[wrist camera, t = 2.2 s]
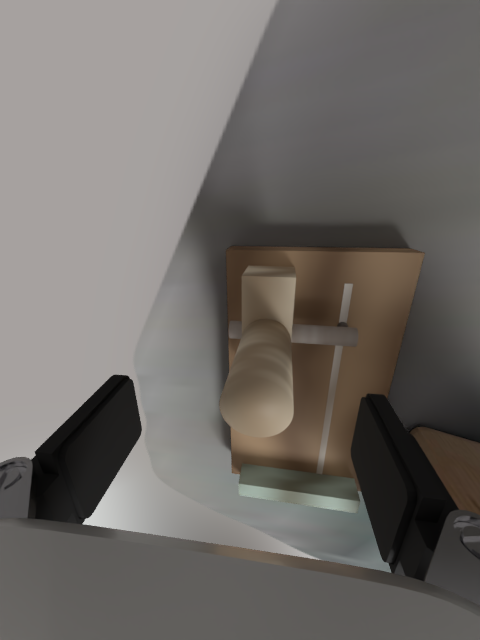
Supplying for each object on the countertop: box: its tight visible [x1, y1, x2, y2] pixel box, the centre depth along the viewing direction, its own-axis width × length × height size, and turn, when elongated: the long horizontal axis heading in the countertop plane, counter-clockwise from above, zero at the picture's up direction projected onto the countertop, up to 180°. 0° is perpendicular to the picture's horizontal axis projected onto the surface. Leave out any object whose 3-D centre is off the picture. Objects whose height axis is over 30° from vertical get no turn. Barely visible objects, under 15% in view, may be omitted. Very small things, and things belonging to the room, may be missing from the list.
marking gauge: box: [219, 266, 358, 438], centre depth 14 cm, size 8×8×9 cm
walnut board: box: [226, 246, 425, 513], centre depth 20 cm, size 12×21×4 cm, turn 1°
